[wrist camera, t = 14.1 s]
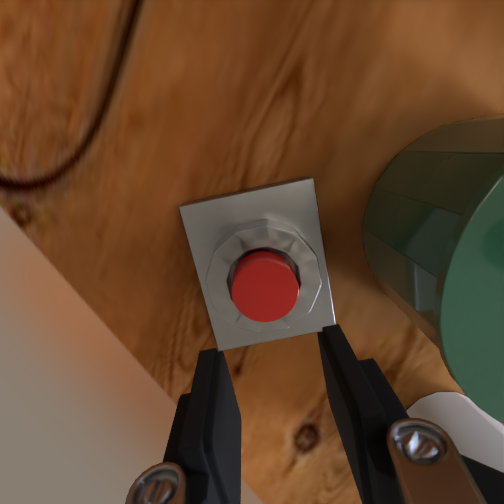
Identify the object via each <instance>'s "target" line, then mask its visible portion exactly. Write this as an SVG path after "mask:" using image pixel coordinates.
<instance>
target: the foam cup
mask: <svg viewBox="0 0 504 504" xmlns="http://www.w3.org/2000/svg"><path fill="white" fill-rule="evenodd" d="M406 412H407V414H408V415H409V417H410V418H420V419H424V420H428V421H430V422H432V423H434V424H437V425H438V426H440V427H441V428H442V429H443V430H445V431H446V432H447V433H448V435H449V436H450V437H451V439H452V440H453V442H454V444H455V446H456V448H457V449H458V451H459V453H460V454H461V455H464V456H466V457H468V458H471V459H473V460H475V461H478V462H480V463H482V464H485V465H487V466H489V467H492V468H494V469H496V470H499V471H501V472H503V473H504V426H503V425H502V424H500V423H499V422H498V421H497V420H496V419H494V418H492V417H491V416H489V415H488V414H487V413H485V412H484V411H482V410H481V409H480V408H478V407H477V406H476V405H475V404H474V403H473V402H472V401H471V400H470V399H469V398H468V397H466V396H464V395H461V394H459V393H457V392H436V393H434V394H431V395H428V396H426V397H423V398H421V399H419V400H418V401H416V402H415V403H414V404H413V405H412V406H411V407H410V408H409V409H407V410H406Z"/></svg>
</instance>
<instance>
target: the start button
mask: <svg viewBox="0 0 504 504" xmlns="http://www.w3.org/2000/svg"><path fill="white" fill-rule="evenodd" d="M298 295H299V285H298V282H297V279H296V276H295V274H294V271H293V269H292V267H291V265H290V263H289V262H288V261H287V260H286V259H285V258H284V257H282V256H281V255H279V254H277V253H274V252H270V251H259V252H254V253H252V254H249V255H248V256H246V257H245V258H243V259H242V260H241V261H240V262H239V264H238V265H237V267H236V268H235V271H234V274H233V281H232V299H233V302H234V304H235V306H236V308H237V309H238V310H239V311H240V313H242V314H243V315H244V316H245V317H247V318H249V319H251V320H254V321H258V322H272V321H276V320H278V319H281V318H282V317H284V316H286V315H287V314H288V313H289V312H290V311H291V310H292V309H293V307H294V306H295V304H296V302H297V299H298Z"/></svg>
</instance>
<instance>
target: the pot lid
mask: <svg viewBox="0 0 504 504" xmlns="http://www.w3.org/2000/svg"><path fill="white" fill-rule="evenodd" d="M433 320H434V327H435V335H436V341H437V344H438V347H439V351H440V354H441V358H442V360H443V362H444V364H445V366H446V368H447V370H448V372H449V374H450V375H451V377H452V378H453V380H454V381H455V382H456V384H457V385H458V387H459V388H460V389H461V390H462V391H463V393H464V394H465V395H466V396H467V397H468V398H469V399H470V400H471V401H472V402H473V403H474V404H475V405H476V406H477V407H478V408H480V409H481V410H482V411H484V412H485V413H487V414H488V415H489V416H491V417H492V418H494V419H496V420H498V421H500V422H502V423H504V162H503V163H502V164H501V166H500V167H499V168H498V169H497V170H496V171H495V172H494V173H493V174H492V175H491V176H490V177H489V178H488V180H487V181H486V182H485V183H484V185H483V186H482V187H481V189H480V190H479V191H478V193H477V194H476V195H475V197H474V198H473V199H472V201H471V202H470V203H469V205H468V207H467V208H466V210H465V212H464V214H463V215H462V217H461V219H460V220H459V222H458V224H457V225H456V227H455V229H454V231H453V234H452V236H451V238H450V240H449V243H448V245H447V247H446V249H445V252H444V255H443V258H442V262H441V265H440V268H439V272H438V275H437V281H436V287H435V293H434V313H433Z"/></svg>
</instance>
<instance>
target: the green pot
mask: <svg viewBox="0 0 504 504" xmlns="http://www.w3.org/2000/svg"><path fill="white" fill-rule="evenodd" d="M503 162H504V113H501V114H494V115H486V116H481V117H477V118H472V119H467V120H461V121H457V122H453V123H449V124H445V125H442V126H440V127H438V128H436V129H434V130H432V131H430V132H428V133H426V134H425V135H423V136H421V137H419V138H418V139H416V140H415V141H414V142H412V143H411V144H410V145H408V146H407V147H406V148H405V149H404V150H402V151H401V152H400V153H399V154H398V155H397V156H396V157H395V158H394V159H393V161H392V162H391V163H390V164H389V165H388V167H387V168H386V169H385V170H384V172H383V173H382V175H381V176H380V178H379V180H378V181H377V183H376V185H375V187H374V189H373V191H372V193H371V195H370V198H369V201H368V204H367V207H366V211H365V216H364V221H363V247H364V252H365V257H366V260H367V263H368V266H369V268H370V270H371V272H372V274H373V276H374V278H375V279H376V280H377V282H378V283H379V284H380V286H381V287H382V289H383V290H384V292H385V294H386V295H387V296H388V297H389V298H390V299H391V300H392V301H393V302H394V303H395V304H396V305H397V306H398V307H399V308H400V309H401V310H402V311H403V312H404V313H405V314H406V315H407V316H408V318H409V319H410V320H411V321H412V322H413V323H414V324H415V325H416V326H417V327H418V328H419V329H420V330H421V331H422V332H423V333H424V334H425V335H426V336H427V337H428V338H429V339H430V340H431V341H432V342H433V343H434V345H435V346H436V347H437V348H438V349H439V347H438V344H437V341H436V335H435V327H434V320H433V313H434V293H435V287H436V281H437V275H438V272H439V268H440V265H441V262H442V258H443V255H444V252H445V249H446V247H447V245H448V243H449V240H450V238H451V236H452V234H453V231H454V229H455V227H456V225H457V224H458V222H459V220H460V219H461V217H462V215H463V214H464V212H465V210H466V208H467V207H468V205H469V203H470V202H471V201H472V199H473V198H474V197H475V195H476V194H477V193H478V191H479V190H480V189H481V187H482V186H483V185H484V183H485V182H486V181H487V180H488V178H489V177H490V176H491V175H492V174H493V173H494V172H495V171H496V170H497V169H498V168H499V167H500V166H501V164H502V163H503Z"/></svg>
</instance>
